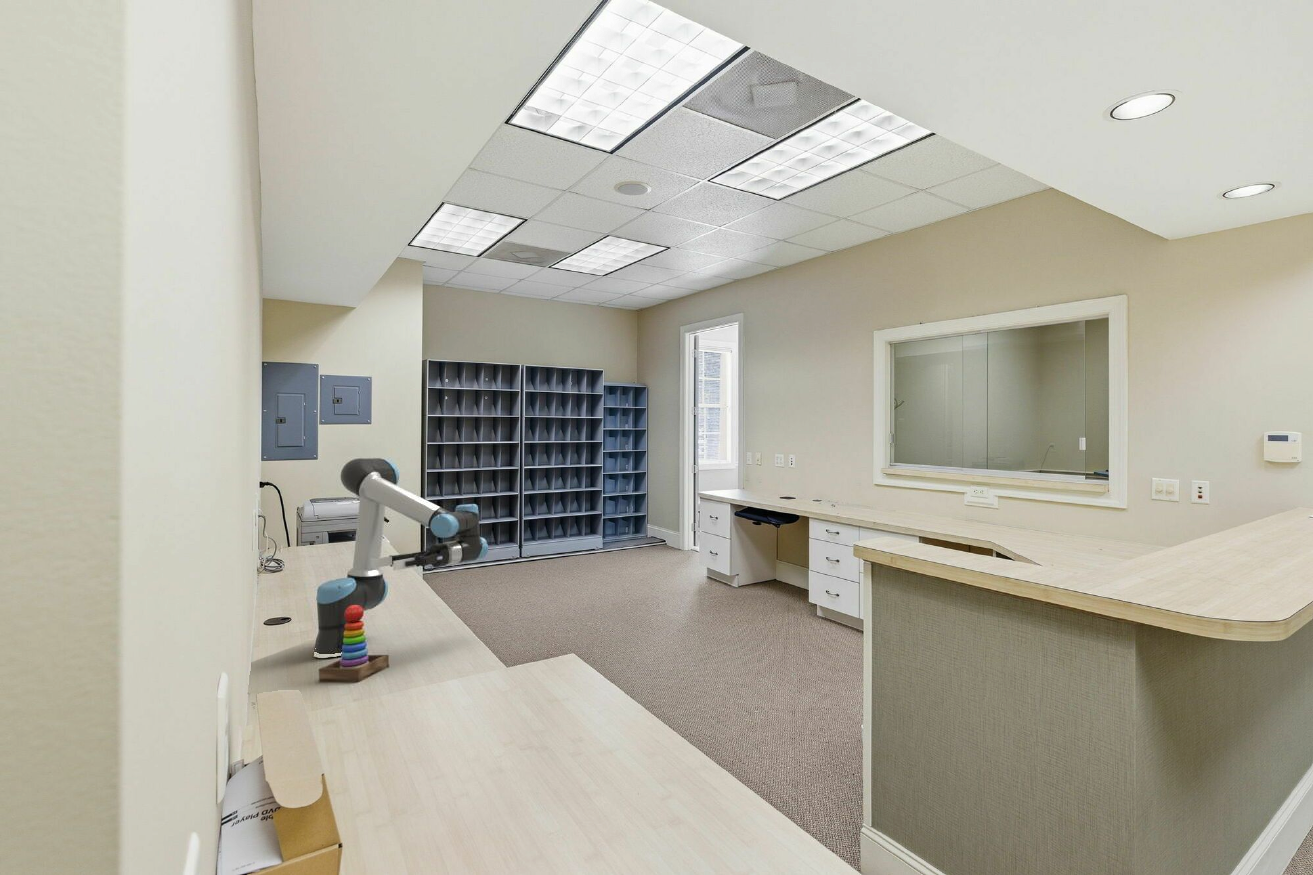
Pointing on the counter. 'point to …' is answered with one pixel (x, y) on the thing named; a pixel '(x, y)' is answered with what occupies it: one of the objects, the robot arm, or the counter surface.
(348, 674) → the tray
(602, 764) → the counter surface
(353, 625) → the stacking toy
